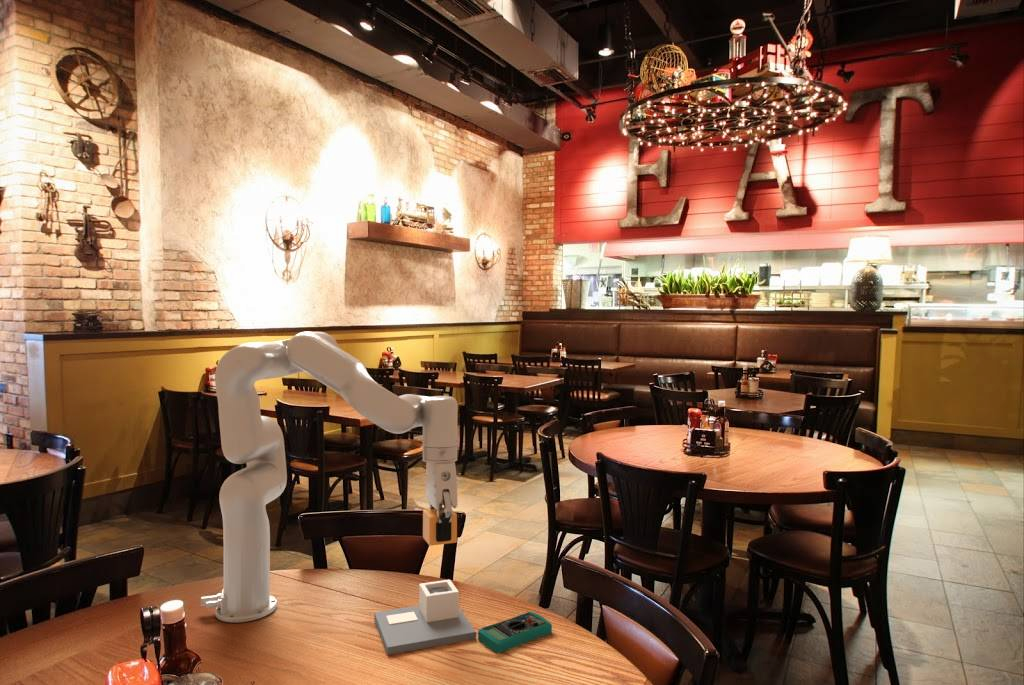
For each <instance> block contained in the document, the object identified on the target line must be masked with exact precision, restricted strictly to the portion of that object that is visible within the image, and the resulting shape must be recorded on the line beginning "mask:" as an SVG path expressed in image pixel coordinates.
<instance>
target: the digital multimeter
mask: <svg viewBox="0 0 1024 685" xmlns="http://www.w3.org/2000/svg"><path fill="white" fill-rule="evenodd" d="M477 631H478V632H477V637H478V638H477V640H479V642H480V643H482V644H483V645H484V646H485V647H487V648H488V649H490V650H492V651H494V652H496V653H497V654H501V653H504V652H506V651H509V650H511V649H514V648H517V647H518V646H521V645H523V644H527V643H528V642H531V641H534V640H537V639H540V638H542V637H546V636H548V635H551V634H552V633H553V632H552V631H553V624H552V623H551V622H550V621H549V620H548V619H546V618H544V617H543V616H542V615H540V614H538V613H536V612H533V611H528V612H525V613H522V614H519V615H517V616H515V617H511V618H509V619H506V620H505V619H504V620H502V621H500V622H496V623H493V624H490V625H487V626H484V627H481V628H480V629H478V630H477Z"/></svg>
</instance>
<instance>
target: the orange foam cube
mask: <svg viewBox="0 0 1024 685" xmlns="http://www.w3.org/2000/svg"><path fill="white" fill-rule="evenodd" d="M443 512H444V511H441V515H442V513H443ZM451 514H452V516H451V519H452V521H451V540H450V541H443V542H437V541H436V523H438V519H437V509H429V508H428V509H427V508H426V509H422V539H423V540H424V541H425V542H426V543H427V544H428V546H431V547H432V546H439V545H446V544H447V545H448V544H454V543H458V514H457V513H456V512H455V511H454V510H453V509H452V513H451Z"/></svg>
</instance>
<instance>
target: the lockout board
mask: <svg viewBox="0 0 1024 685" xmlns="http://www.w3.org/2000/svg"><path fill="white" fill-rule="evenodd" d="M418 586H419V587H418V591H419V593H418V605H415V606H406V607H400V608H392V609H388V610H381V611H374V618H373V619H374V623H375V625H376V628H377V630H378V634H379V635H380V638H381V639H380V640H381V641H382V644H383V647H384V650H385V653H386V655H387V656H390V655H395V654H400V653H406V652H407V653H408V652H413V651H417V650H424V649H429V648H434V647H440V646H445V645H450V644H456V643H462V642H466V641H467V642H468V641H473V640H476V639H477V631H476V629H475V628H474V627H473V626H472V624H471V622H470V621H469V619H468V618H467V616H466V615H465V613H464V612H463V611H462V609H461V608H460V605H459V604H460V600H459V599H460V598H459V597H460V596H459V595H460V592H459V590H458V589H457V587H456V586H455V585H454V583H453V581H452V580H451V579H444V580H437V581H430V582H424V583H423V582H422V583H419V584H418ZM433 588H446V589H448V590H449V591H446V592H439V593H433V594H430V593H429V590H431V589H433Z"/></svg>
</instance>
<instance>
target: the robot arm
mask: <svg viewBox="0 0 1024 685" xmlns="http://www.w3.org/2000/svg"><path fill="white" fill-rule="evenodd" d="M214 372H215V373H214V382H215V383H214V384H215V385H214V386H215V391H216V398H217V406H218V407H217V408H218V420H219V432H220V444H221V450H222V453H223V456H224V457H225V459H226V460H227V461H229V462H230V463H232V464H236V465H241V464H246V467H244V468H241V469H240V470H237V471H236V472H233V473H232V474H230V475H229V476H228V477H227V478H226V479H225V480H224V482H223V483H222V485H221V486H220V490H219V494H218V496H219V498H218V499H219V506H220V507H219V508H220V511H221V515H222V516H221V517H222V528H223V530H222V532H223V534H222V535H223V536H222V537H223V538H222V539H223V540H222V541H223V573H222V575H223V580H222V581H223V588H222V590H221V592H217V593H216V595H203V596H201V597H200V607H203V606H205V609H206V610H207V609H212V608H215V617H216V618H217V619H218V620H220V621H221V622H226V623H247V622H250V621H251V622H252V621H255V620H259V619H261V618H264V617H267V616H268V615H270V614H272V613H273V612H274V611H275V610H276V609H277V606H278V601H277V599H276V597H275V596H273V595H271V592H270V588H271V586H270V585H271V576H270V574H271V573H270V572H271V570H270V569H271V568H270V567H271V530H270V528H271V527H270V520H269V517H268V516H269V515H268V513H267V508H266V505H267V504H269V503H271V502H272V501H274V500H276V499H278V497H280V496H281V495H282V493H284V491H285V488H286V487H287V480H288V472H287V460H286V450H285V439H284V434H283V431H282V428H281V427H280V425H279V424H278V423H277V422H278V421H275V420H274V419H273V418H271V417H270V416H266V415H262V413H261V404H260V403H261V401H260V397H259V394H258V391H257V389H256V387H255V383H256V382H257V381H261V380H271V379H278V378H283V377H286V376H291V375H296V374H301V373H304V374H306V375H308V376H309V377H311V378H313V379H314V380H316V381H317V382H319V383H321V384H323V385H324V386H326V387H327V388H329V389H330V390H332V391H334V392H335V393H336V394H338V395H339V396H341V398H342V399H343V400H344V401H345V402H346V403H347V404H348V405H349V406H350V407H351V408H352V409H353V410H354V411H355V412H356V413H358V414H359V415H360V416H362V417H364V418H365V419H366V420H368V422H369V421H370V422H371V423H373V424H374V425H376V426H377V427H379V428H381V429H383V430H384V431H387V432H389V433H391V434H398V435H399V434H404V433H406V432H408V431H411V430H412V429H415V428H417V427H418V428H419V427H422V462H424V463H425V464H426V466H425V497H426V500H427V502H428V509H437V519H438V523H436V541H437V542H443V541H450V540H451V521H452V519H451V516H452V514H451V513H452V510H453V509H456V508H457V507H458V505H459V504H458V482H457V481H458V480H457V478H458V477H457V467H456V461H458V412H459V411H458V409H459V408H458V401H457V399H456V398H455V397H453V396H449V395H434V396H433V395H432V396H426V395H419V394H414V393H413V394H412V393H406V394H402V395H397V394H395V393H393V392H392V391H390V390H388V389H387V388H385V387H384V386H382V385H381V384H380V383H378V382H377V381H375V380H374V379H373V378H372V376H371V375H370V374H369V372H368V370H367V367H366V365H365V364H364V362H363V361H361V360H360V359H358V358H357V357H355V356H353V355H352V354H350V353H349V352H347V351H345V350H343V349H341V348H340V347H339V344H338V342H337V340H336V339H335V338H334V337H333V336H332V335H330V334H329V333H327V332H324V331H301V332H298V333H297V334H295V335H293V337H291V338H288V339H283V340H276V341H251V342H244V343H242V344H238V345H237V346H234V347H233V348H231V349H229V350H228V351H227V352H225V353H224V354H223V356H222V357H221V358H220V359H219V361H218V363H217V365H216V368H215V371H214ZM441 511H444V512H443V513H442V515H441Z"/></svg>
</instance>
